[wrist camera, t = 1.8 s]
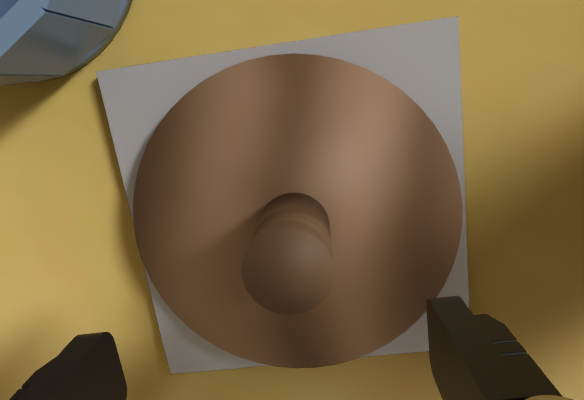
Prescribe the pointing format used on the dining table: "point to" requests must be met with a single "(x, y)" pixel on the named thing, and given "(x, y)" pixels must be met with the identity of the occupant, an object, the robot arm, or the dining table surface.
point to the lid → (297, 210)
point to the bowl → (54, 36)
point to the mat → (349, 47)
